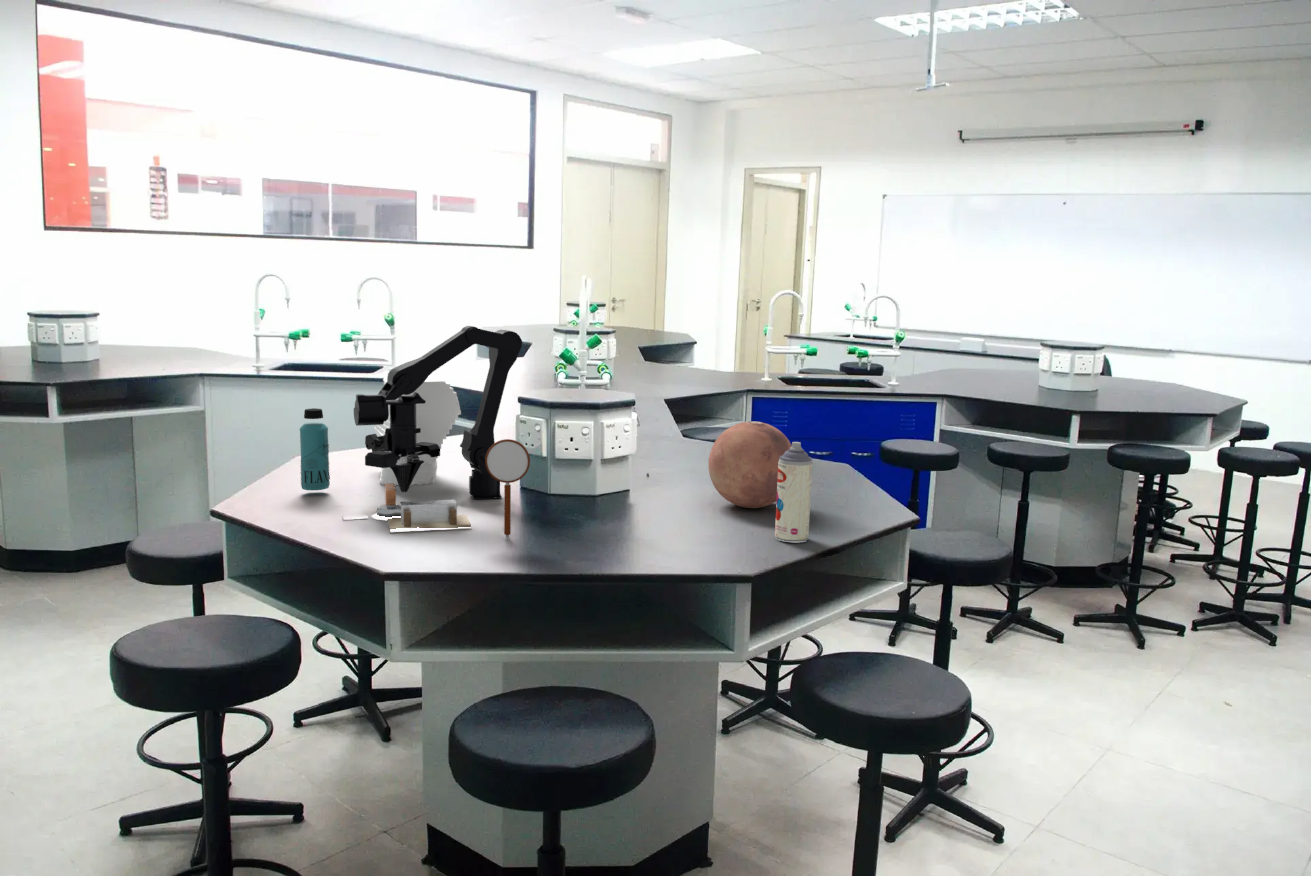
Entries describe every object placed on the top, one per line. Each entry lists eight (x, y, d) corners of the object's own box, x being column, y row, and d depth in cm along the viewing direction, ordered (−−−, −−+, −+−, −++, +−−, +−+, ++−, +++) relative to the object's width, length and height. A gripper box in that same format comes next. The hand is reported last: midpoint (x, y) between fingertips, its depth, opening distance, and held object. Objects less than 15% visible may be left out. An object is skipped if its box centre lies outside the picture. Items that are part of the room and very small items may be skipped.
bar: (455, 518, 200) (454, 499, 199) (456, 522, 197) (456, 503, 196) (400, 520, 196) (400, 501, 196) (401, 524, 193) (401, 505, 193)
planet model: (799, 501, 229) (803, 418, 226) (787, 521, 210) (792, 431, 206) (716, 494, 234) (720, 413, 231) (698, 512, 215) (701, 424, 212)
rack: (466, 519, 203) (466, 501, 202) (471, 529, 196) (471, 510, 195) (388, 523, 198) (387, 504, 198) (390, 533, 191) (389, 513, 190)
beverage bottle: (299, 497, 219) (296, 410, 215) (302, 491, 225) (299, 406, 222) (329, 496, 220) (327, 410, 217) (331, 490, 227) (329, 406, 223)
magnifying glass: (529, 538, 190) (530, 438, 187) (529, 540, 188) (529, 440, 185) (485, 537, 189) (485, 438, 186) (484, 540, 188) (484, 439, 184)
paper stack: (373, 489, 228) (371, 382, 224) (374, 468, 254) (372, 371, 250) (463, 487, 234) (462, 382, 230) (455, 466, 260) (455, 371, 256)
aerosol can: (772, 534, 198) (777, 439, 195) (805, 535, 198) (811, 440, 195) (776, 543, 191) (781, 444, 188) (810, 544, 191) (816, 445, 188)
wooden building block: (403, 502, 214) (403, 483, 214) (407, 516, 202) (406, 495, 201) (375, 503, 212) (375, 484, 212) (377, 517, 200) (377, 497, 200)
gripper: (404, 415, 225) (405, 480, 228) (345, 425, 209) (347, 495, 211) (441, 420, 220) (442, 486, 223) (384, 430, 204) (385, 501, 206)
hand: (404, 492), depth 216 cm, fingers closed
